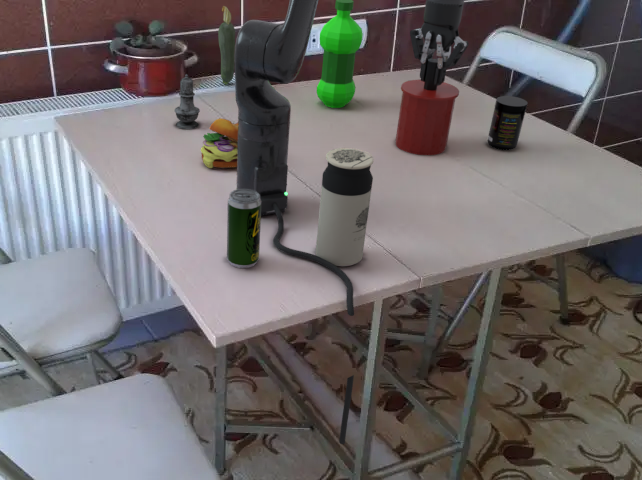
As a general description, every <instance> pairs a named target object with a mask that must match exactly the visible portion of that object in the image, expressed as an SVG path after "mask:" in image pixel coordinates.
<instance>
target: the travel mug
mask: <svg viewBox="0 0 642 480" xmlns="http://www.w3.org/2000/svg"><path fill="white" fill-rule="evenodd" d="M325 159H326V161H327V166H326V168H325V169H324V171H323V172H322V177H321V178H322V179H321V187H320V188H321V189H320V199H319V210H318V211H319V212H318V220H317V221H318V222H317V234H316V242H315V243H316V244H315V255H316V256H318V257H320V258H322V259H324V260H326V261H328V262H330V263H332V264H334V265H335V266H337V267H349V266H353V265H356V264H359V263H360V262H361V261H362V259H363V256H364V248H365V242H366V233H367V225H368V218H369V212H370V211H369V210H370V203H371V196H372V190H373V189H372V188H373V180H374V177H373V174H372V172H371V167H372V165H373V163H374V161H375V159H374V156H373V155H372V154H370V152H367V151H365V150H362V149H359V148H353V147H352V148H351V147H339V148H333V149H331V150H330V151H328V152H327V153H326V154H325Z"/></svg>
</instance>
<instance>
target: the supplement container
mask: <svg viewBox="0 0 642 480" xmlns="http://www.w3.org/2000/svg"><path fill="white" fill-rule="evenodd" d="M527 107H528V101H527V100H526V99H524V98H521V97H517V96H511V95H501V96H498V97H496V98H495V104H494V108H493V112H492V117H491V121H490V122H491V123H490V126H489V131H488V136H487V140H486V141H487V142H486V143H487V145H488V146H489V147H490V148H493V149H495V150H498V151H512V150H515V149H516V148H517V146H518V143H519V138H520V136H521V132H522V131H521V130H522V127H523V123H524V119H525V115H526V111H527Z"/></svg>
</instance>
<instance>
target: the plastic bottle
mask: <svg viewBox="0 0 642 480" xmlns="http://www.w3.org/2000/svg"><path fill="white" fill-rule="evenodd" d="M354 2H355V1H354V0H335V4H334V5H335V6H334V9H335V10H336V15H335V16H333V17H332V18H331V19H329V20H328V21H327V22H326V23H325V24H323V26H322V28H321V31H320V32H319V45H320V47H321V49H323V54H322V67H321V68H322V69H321V77H320V80H319V82H318V84H317V86H316V94H317V97H318V99H319V101H321V102H322V103H323V104H324V106H326V107H327V108H332V109H341V108H344V107H345V106H347V104H349V103H350V102H351V101H353V98H354V96H355V93H356V88H357V87H356V84H355V81H354V78H353V77H354V73H355V72H354V70H355V61H356V52H358V51H359V50H360V48H361V45H362V43H363V37H364V33H363V29H362V27H361V26H360V25H359V24H358V23H357V21H356V20H355V19H354V18H353V17H352V16H351V11H353V9H354V4H355V3H354Z"/></svg>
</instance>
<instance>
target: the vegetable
mask: <svg viewBox="0 0 642 480" xmlns="http://www.w3.org/2000/svg"><path fill="white" fill-rule="evenodd" d="M221 12H222V13H223V19H222V20H223V22H222V23H221V24H220V25H219V27H218V30H217V32H218V33H217V34H218V35H217V38H218V39H217V40H218V45H219V46H218V47H219V50H220V51H219V52H220V78H221V79H222V84H224V85H228V84H229V83H231V82H232V81H233V79H234V76H235V63H234V55H235V44H236V29H235V27H234V24H233V23H232V22H231V21H232V13H231V12H230V10H229V9H228V7H227V6H225V5H223V6H222V8H221Z"/></svg>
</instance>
